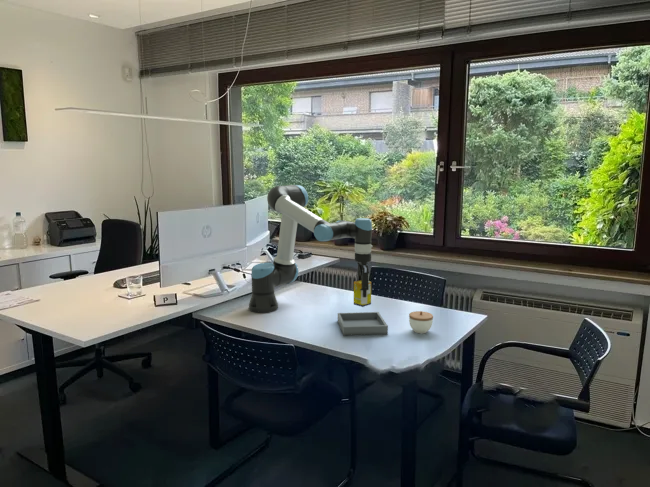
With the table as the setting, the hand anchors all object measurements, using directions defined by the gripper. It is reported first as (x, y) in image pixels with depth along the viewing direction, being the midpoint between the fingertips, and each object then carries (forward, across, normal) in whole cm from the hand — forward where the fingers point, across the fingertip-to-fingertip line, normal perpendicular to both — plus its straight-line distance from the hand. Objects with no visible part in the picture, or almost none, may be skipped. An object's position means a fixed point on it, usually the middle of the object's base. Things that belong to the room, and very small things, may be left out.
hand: (362, 300), depth 226 cm
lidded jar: (+13, -7, -26) cm, 30 cm away
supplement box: (+2, 0, 0) cm, 2 cm away
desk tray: (+13, 0, 0) cm, 13 cm away
